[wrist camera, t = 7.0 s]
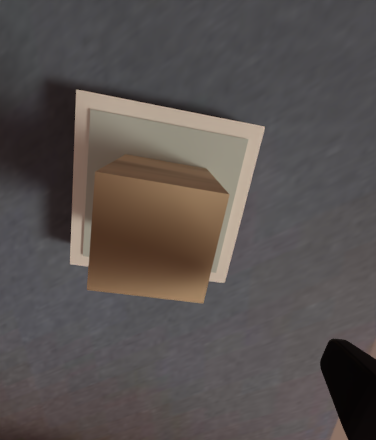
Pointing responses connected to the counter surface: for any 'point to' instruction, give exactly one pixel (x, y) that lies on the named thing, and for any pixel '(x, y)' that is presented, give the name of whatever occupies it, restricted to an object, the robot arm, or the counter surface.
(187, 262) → the oak block
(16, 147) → the counter surface
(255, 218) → the counter surface
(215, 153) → the tile base
